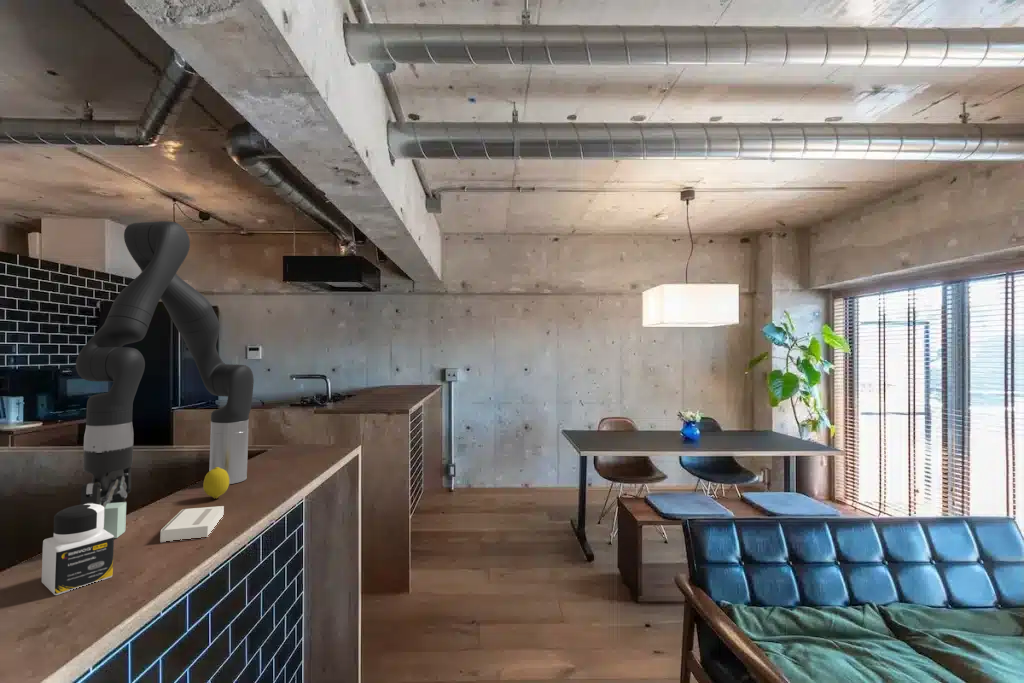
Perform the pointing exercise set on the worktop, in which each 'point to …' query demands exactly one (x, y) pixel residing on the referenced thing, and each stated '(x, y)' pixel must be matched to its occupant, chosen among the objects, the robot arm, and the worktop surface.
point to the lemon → (216, 482)
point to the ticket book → (192, 523)
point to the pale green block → (115, 518)
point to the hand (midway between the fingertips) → (106, 525)
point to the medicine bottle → (77, 549)
